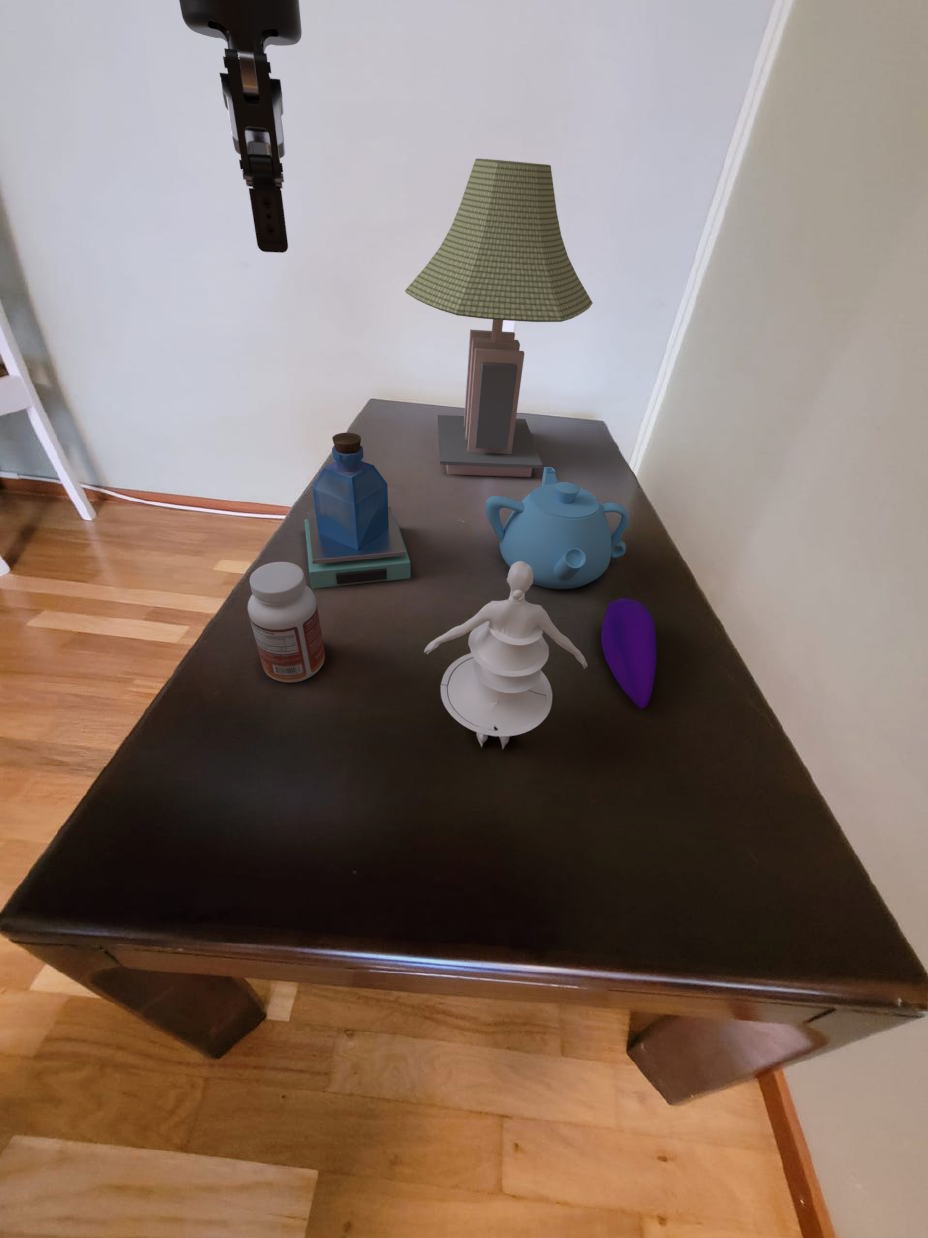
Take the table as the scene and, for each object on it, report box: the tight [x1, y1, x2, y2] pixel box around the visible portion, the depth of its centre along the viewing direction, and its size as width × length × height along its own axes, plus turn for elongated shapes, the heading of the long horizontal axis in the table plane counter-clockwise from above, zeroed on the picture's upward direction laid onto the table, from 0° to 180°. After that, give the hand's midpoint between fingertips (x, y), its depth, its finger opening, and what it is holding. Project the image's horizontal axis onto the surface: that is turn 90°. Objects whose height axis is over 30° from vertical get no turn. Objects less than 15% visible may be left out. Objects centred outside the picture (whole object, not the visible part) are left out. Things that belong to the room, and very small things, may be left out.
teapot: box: [485, 466, 630, 590], centre depth 68 cm, size 15×17×11 cm
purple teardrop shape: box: [600, 597, 657, 710], centre depth 57 cm, size 5×5×15 cm
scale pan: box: [306, 506, 406, 564], centre depth 68 cm, size 11×11×1 cm
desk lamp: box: [404, 158, 594, 478], centre depth 83 cm, size 26×28×40 cm
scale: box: [304, 512, 411, 590], centre depth 69 cm, size 12×12×3 cm
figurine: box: [423, 561, 588, 750], centre depth 44 cm, size 13×10×20 cm
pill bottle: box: [247, 561, 326, 683], centre depth 52 cm, size 6×6×11 cm
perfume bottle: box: [312, 432, 389, 550], centre depth 64 cm, size 6×6×12 cm
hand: (273, 242), depth 44 cm, fingers open, 8 cm apart
